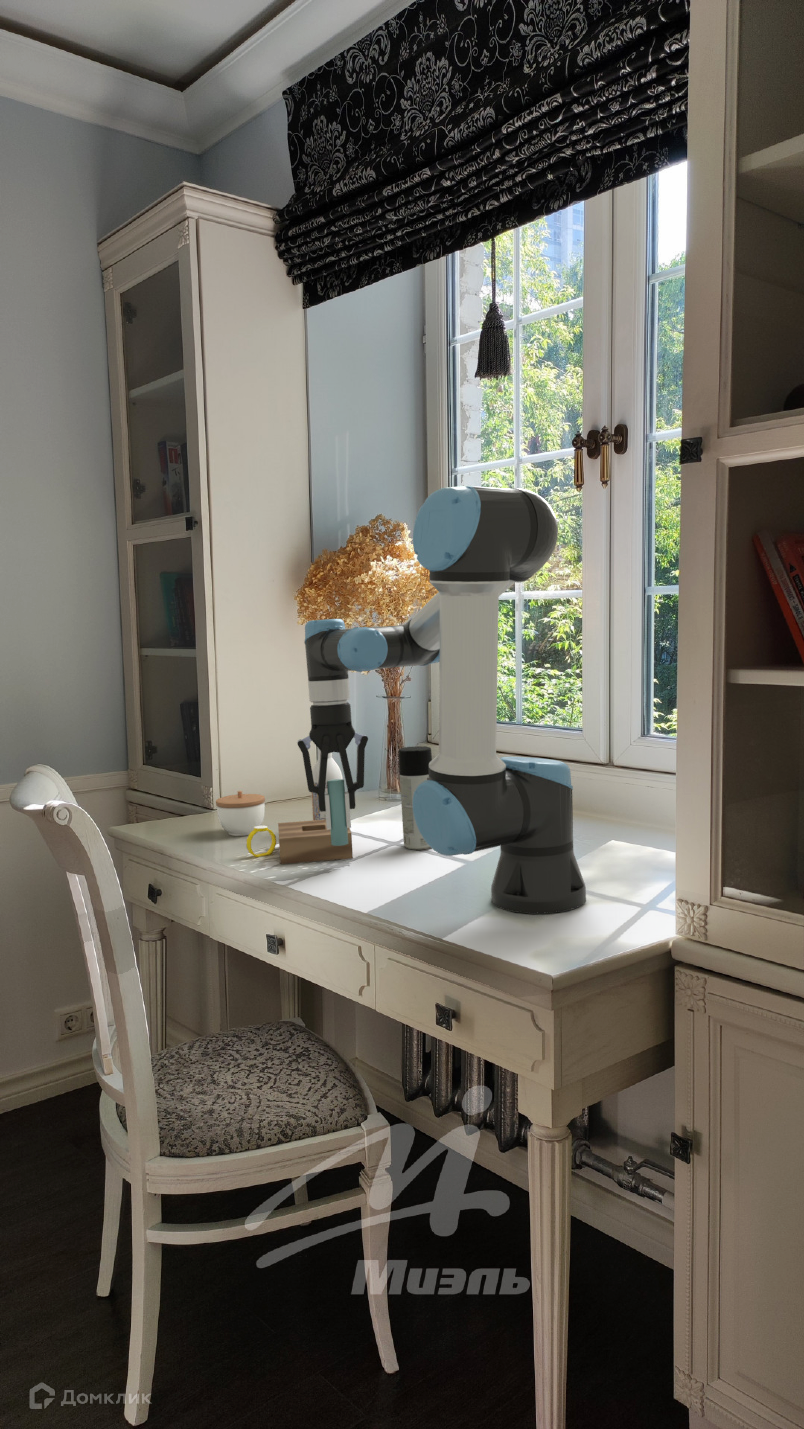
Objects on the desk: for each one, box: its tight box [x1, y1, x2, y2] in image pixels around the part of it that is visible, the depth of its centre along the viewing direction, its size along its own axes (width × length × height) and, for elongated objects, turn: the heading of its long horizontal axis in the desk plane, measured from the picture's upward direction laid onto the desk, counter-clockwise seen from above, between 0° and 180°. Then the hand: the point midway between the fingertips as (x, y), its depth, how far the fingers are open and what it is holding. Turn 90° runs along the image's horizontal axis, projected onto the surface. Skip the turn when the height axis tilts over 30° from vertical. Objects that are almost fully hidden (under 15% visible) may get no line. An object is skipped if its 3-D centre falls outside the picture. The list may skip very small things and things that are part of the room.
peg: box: [327, 779, 348, 846], centre depth 181 cm, size 3×3×12 cm
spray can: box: [398, 745, 433, 851], centre depth 194 cm, size 7×7×20 cm
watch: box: [246, 825, 277, 858], centre depth 194 cm, size 6×3×6 cm, turn 125°
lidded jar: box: [215, 790, 266, 837], centre depth 214 cm, size 11×11×9 cm
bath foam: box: [310, 747, 344, 820], centre depth 210 cm, size 7×7×20 cm
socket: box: [277, 819, 354, 865], centre depth 194 cm, size 14×14×5 cm
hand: (338, 827), depth 182 cm, fingers closed on peg, 3 cm apart
